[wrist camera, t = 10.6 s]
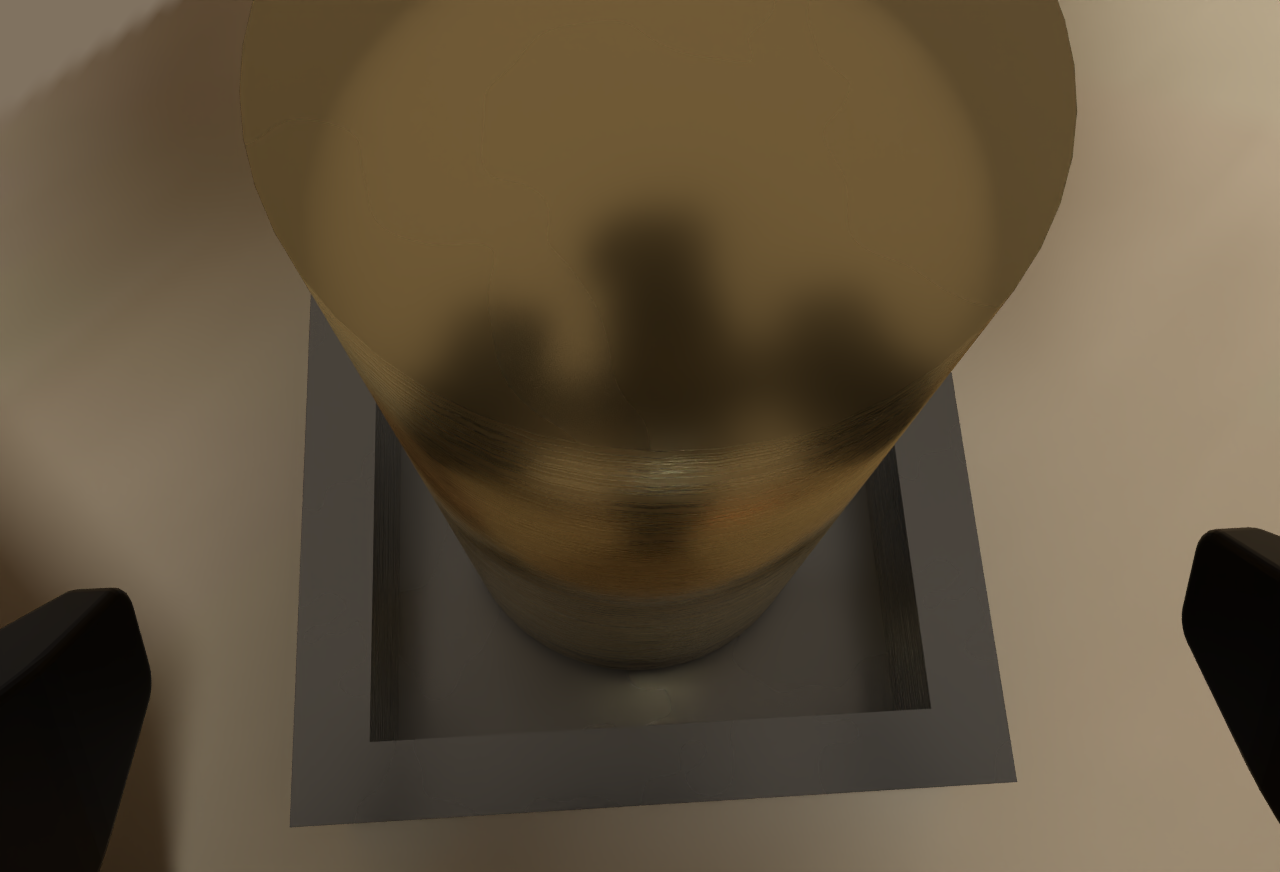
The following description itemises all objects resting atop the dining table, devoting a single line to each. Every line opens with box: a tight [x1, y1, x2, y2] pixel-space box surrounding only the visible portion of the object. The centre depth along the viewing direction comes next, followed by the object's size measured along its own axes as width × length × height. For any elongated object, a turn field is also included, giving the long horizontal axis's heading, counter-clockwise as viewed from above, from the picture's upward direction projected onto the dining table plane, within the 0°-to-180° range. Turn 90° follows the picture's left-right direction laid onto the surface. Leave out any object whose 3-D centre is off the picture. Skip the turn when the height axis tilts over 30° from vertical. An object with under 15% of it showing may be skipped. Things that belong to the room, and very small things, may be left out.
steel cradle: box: [290, 294, 1017, 827], centre depth 17 cm, size 10×10×3 cm
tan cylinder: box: [239, 0, 1077, 670], centre depth 12 cm, size 6×6×11 cm
